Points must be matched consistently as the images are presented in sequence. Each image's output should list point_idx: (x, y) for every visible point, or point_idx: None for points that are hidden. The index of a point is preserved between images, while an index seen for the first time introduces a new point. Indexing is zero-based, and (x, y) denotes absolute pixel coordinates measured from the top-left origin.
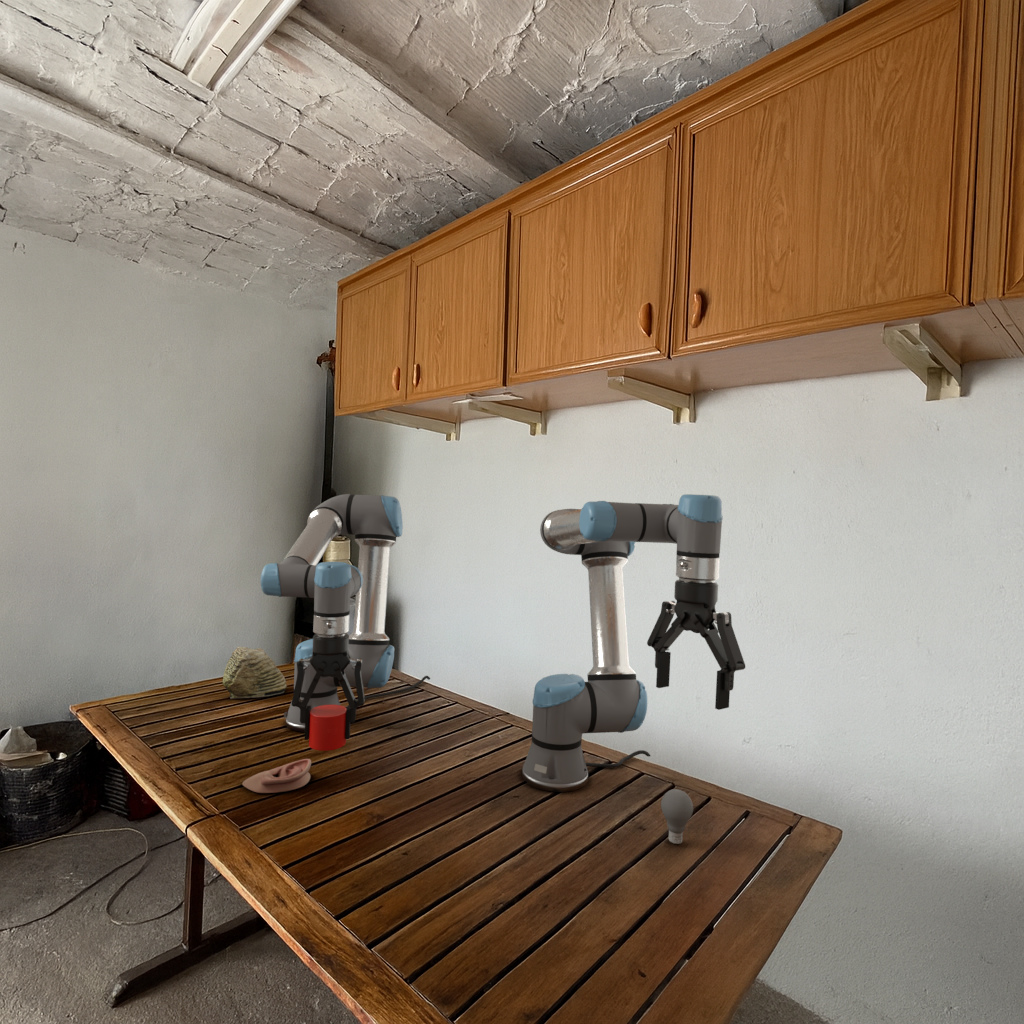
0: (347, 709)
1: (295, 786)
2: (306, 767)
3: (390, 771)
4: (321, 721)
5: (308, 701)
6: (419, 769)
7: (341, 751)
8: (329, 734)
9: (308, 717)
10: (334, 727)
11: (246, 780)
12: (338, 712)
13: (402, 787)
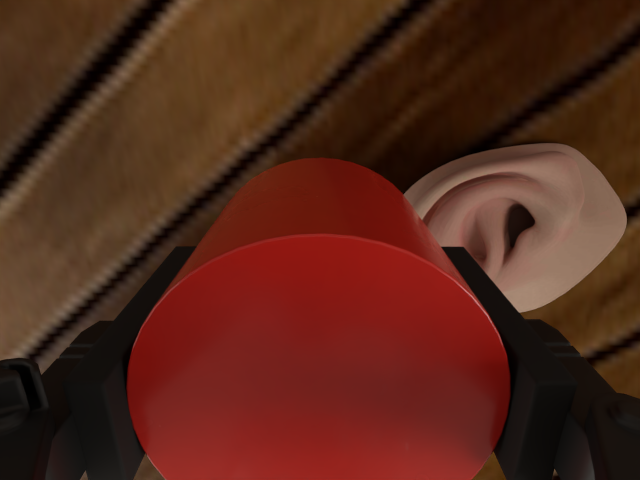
0: (90, 386)
1: (432, 181)
2: None
3: (106, 299)
4: (367, 220)
5: (611, 477)
6: (5, 309)
7: None
8: (287, 186)
9: (503, 330)
10: (242, 214)
11: (619, 226)
12: (203, 362)
13: (26, 170)
